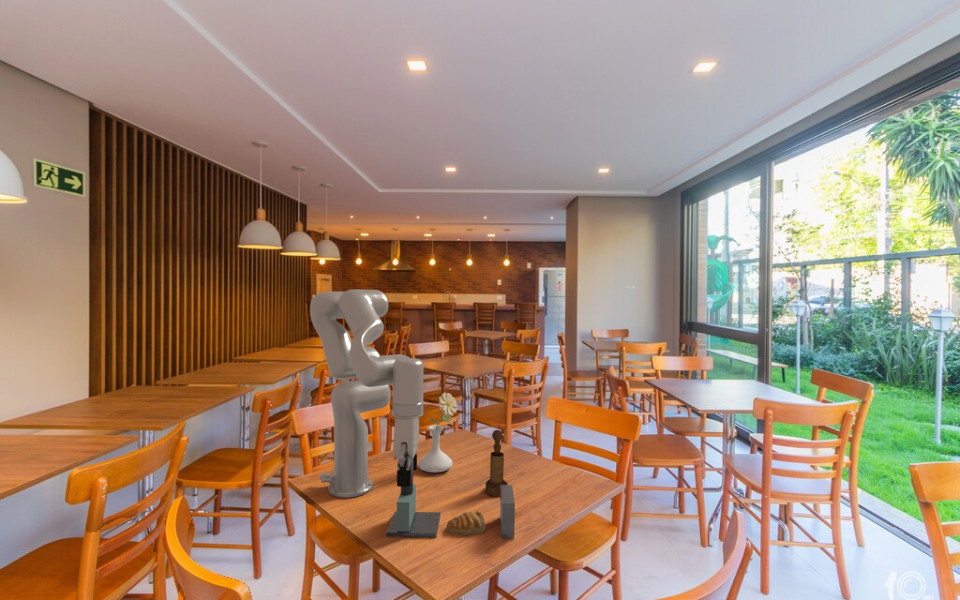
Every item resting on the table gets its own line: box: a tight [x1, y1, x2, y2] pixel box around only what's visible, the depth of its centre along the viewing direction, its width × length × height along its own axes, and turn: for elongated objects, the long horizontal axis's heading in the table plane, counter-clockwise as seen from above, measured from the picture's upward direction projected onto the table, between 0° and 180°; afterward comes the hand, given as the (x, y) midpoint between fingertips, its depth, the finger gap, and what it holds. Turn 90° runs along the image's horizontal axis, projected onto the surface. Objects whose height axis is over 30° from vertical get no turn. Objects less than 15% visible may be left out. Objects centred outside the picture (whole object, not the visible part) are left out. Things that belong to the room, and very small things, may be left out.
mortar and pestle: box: [484, 429, 509, 497], centre depth 129 cm, size 7×6×18 cm
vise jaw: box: [396, 455, 417, 532], centre depth 109 cm, size 3×10×16 cm, turn 0°
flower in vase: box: [417, 392, 458, 474], centre depth 145 cm, size 13×11×25 cm
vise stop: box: [499, 484, 516, 540], centre depth 109 cm, size 3×10×8 cm, turn 179°
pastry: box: [446, 510, 487, 536], centre depth 108 cm, size 9×7×4 cm
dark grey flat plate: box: [385, 511, 441, 539], centre depth 109 cm, size 12×10×1 cm
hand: (407, 477), depth 109 cm, fingers open, 9 cm apart
